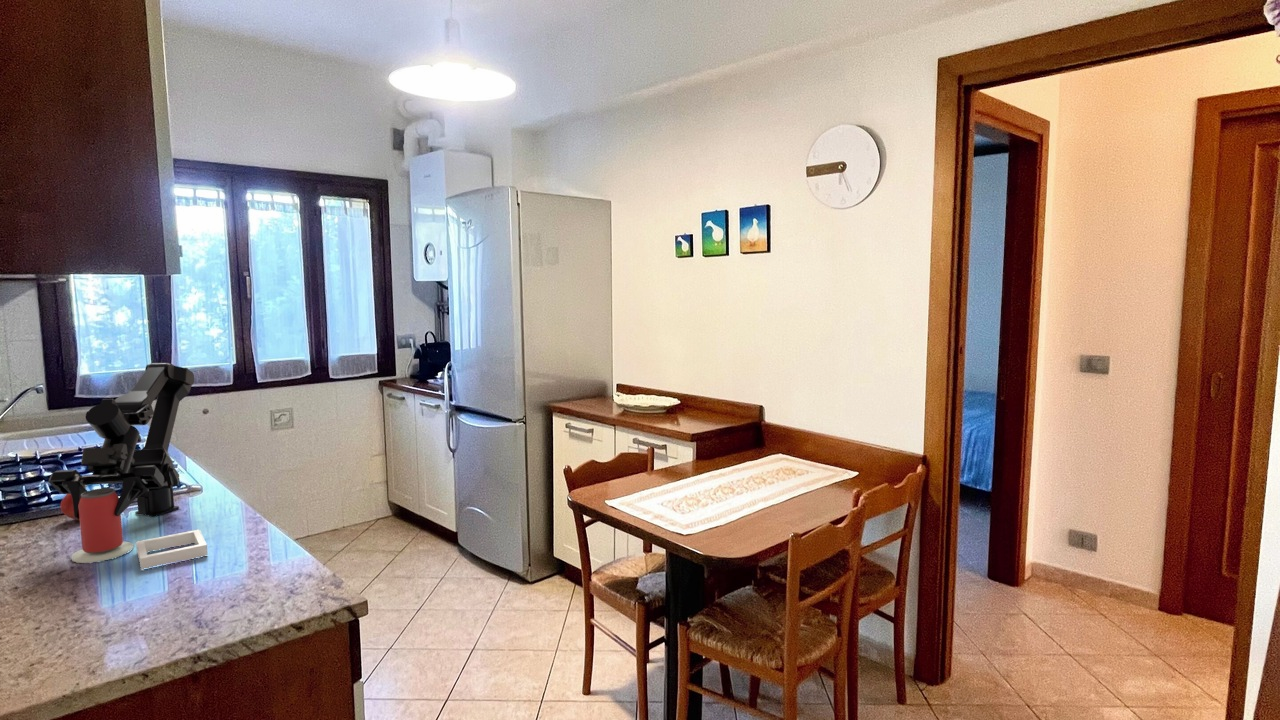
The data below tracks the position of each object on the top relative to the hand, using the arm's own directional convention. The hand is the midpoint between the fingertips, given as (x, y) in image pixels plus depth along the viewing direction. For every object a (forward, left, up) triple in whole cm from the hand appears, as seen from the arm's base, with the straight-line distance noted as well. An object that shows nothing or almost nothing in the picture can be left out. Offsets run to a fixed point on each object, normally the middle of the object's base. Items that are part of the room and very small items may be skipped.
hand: (96, 516), depth 137 cm
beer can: (-1, -1, -7) cm, 8 cm away
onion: (-13, -27, -8) cm, 31 cm away
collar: (-5, +13, -8) cm, 16 cm away
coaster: (-1, -1, -8) cm, 8 cm away
